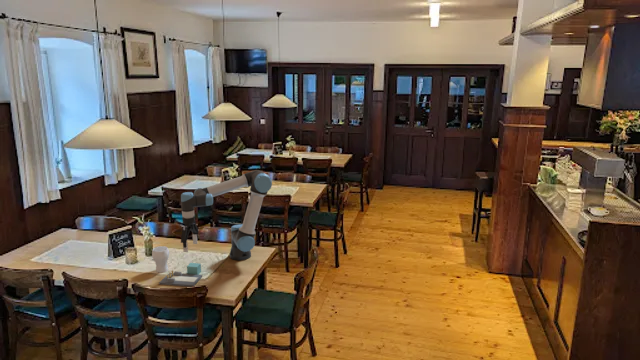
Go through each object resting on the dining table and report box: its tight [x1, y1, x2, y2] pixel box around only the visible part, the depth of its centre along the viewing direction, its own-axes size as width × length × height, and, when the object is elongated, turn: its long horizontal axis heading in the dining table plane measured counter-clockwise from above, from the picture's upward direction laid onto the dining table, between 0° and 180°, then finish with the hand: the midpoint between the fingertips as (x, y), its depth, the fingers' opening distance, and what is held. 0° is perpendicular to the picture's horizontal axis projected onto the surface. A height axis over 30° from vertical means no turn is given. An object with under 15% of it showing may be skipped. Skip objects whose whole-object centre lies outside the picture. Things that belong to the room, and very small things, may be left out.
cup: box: [151, 245, 170, 274], centre depth 294 cm, size 11×11×15 cm
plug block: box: [186, 262, 202, 275], centre depth 291 cm, size 7×6×6 cm
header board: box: [158, 269, 203, 288], centre depth 281 cm, size 22×14×5 cm, turn 82°
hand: (190, 247), depth 289 cm, fingers open, 13 cm apart
